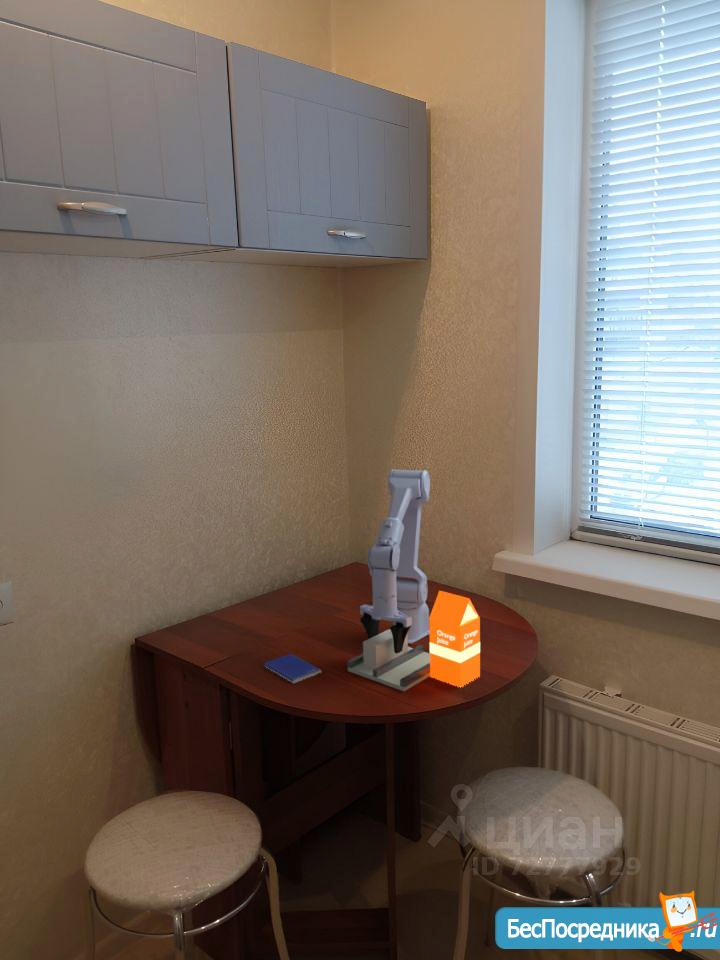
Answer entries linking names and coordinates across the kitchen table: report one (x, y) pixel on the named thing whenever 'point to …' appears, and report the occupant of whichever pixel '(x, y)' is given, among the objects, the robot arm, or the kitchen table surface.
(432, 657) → the orange juice
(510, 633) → the kitchen table surface
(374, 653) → the clay bar
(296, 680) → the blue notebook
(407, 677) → the rack
